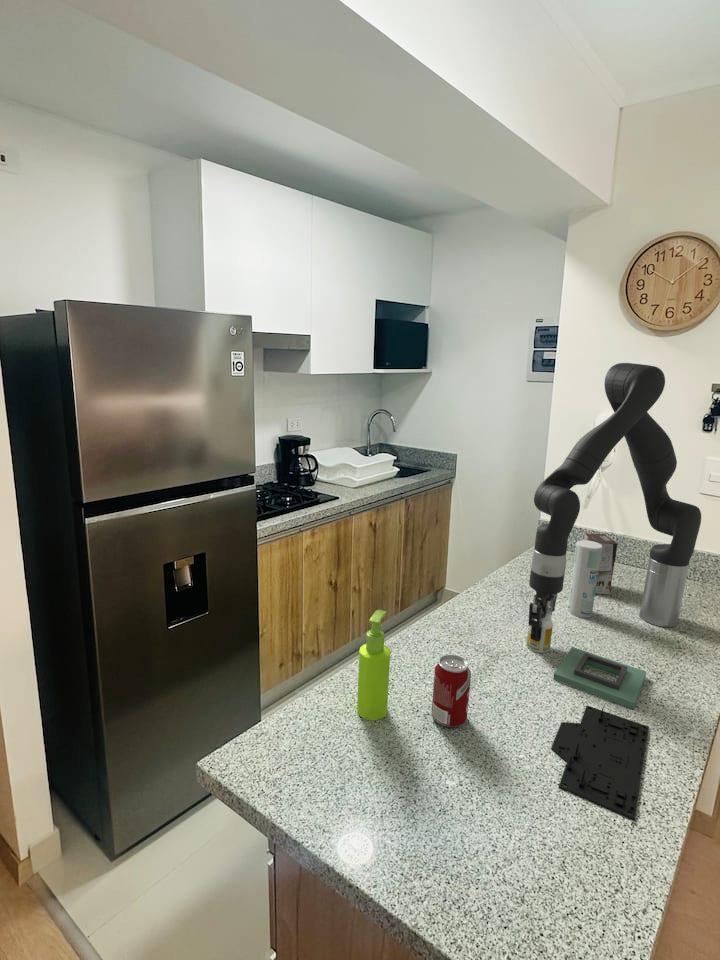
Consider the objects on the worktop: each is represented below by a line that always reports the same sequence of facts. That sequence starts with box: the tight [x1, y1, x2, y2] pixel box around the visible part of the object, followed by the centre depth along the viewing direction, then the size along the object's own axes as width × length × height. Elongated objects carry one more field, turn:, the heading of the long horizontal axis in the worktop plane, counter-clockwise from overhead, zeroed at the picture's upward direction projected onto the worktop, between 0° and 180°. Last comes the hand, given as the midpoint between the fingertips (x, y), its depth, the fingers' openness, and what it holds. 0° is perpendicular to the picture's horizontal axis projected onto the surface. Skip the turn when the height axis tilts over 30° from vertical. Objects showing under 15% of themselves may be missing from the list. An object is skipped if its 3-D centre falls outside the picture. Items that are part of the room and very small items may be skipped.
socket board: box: [552, 646, 647, 710], centre depth 117 cm, size 14×16×2 cm
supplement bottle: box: [526, 610, 554, 654], centre depth 128 cm, size 5×5×10 cm
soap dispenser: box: [356, 609, 391, 721], centre depth 103 cm, size 6×7×20 cm
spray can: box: [567, 539, 602, 619], centre depth 146 cm, size 6×6×20 cm
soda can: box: [431, 654, 472, 728], centre depth 102 cm, size 7×7×12 cm
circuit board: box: [550, 705, 650, 821], centre depth 95 cm, size 25×14×3 cm, turn 148°
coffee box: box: [583, 533, 618, 595], centre depth 163 cm, size 9×6×16 cm
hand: (539, 634), depth 129 cm, fingers closed on supplement bottle, 5 cm apart
